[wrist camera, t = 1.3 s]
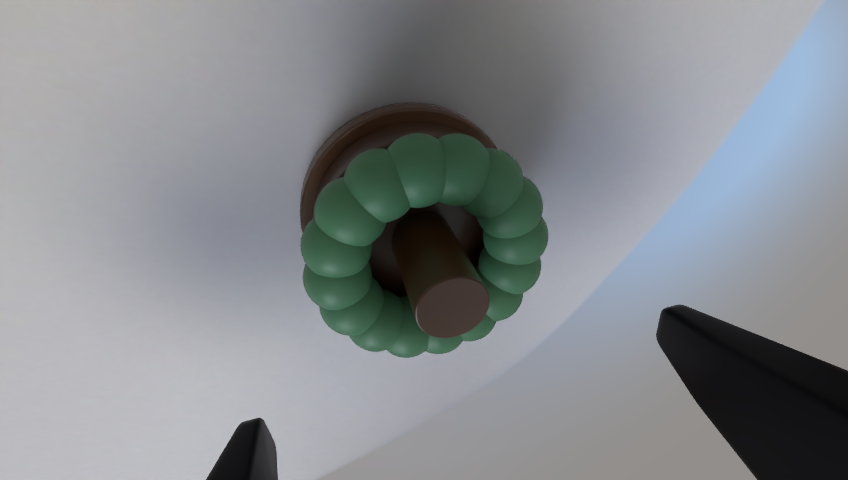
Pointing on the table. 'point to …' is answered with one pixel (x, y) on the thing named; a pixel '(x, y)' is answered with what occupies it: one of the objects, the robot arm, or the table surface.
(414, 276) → the stand
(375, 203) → the ring
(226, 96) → the table surface
